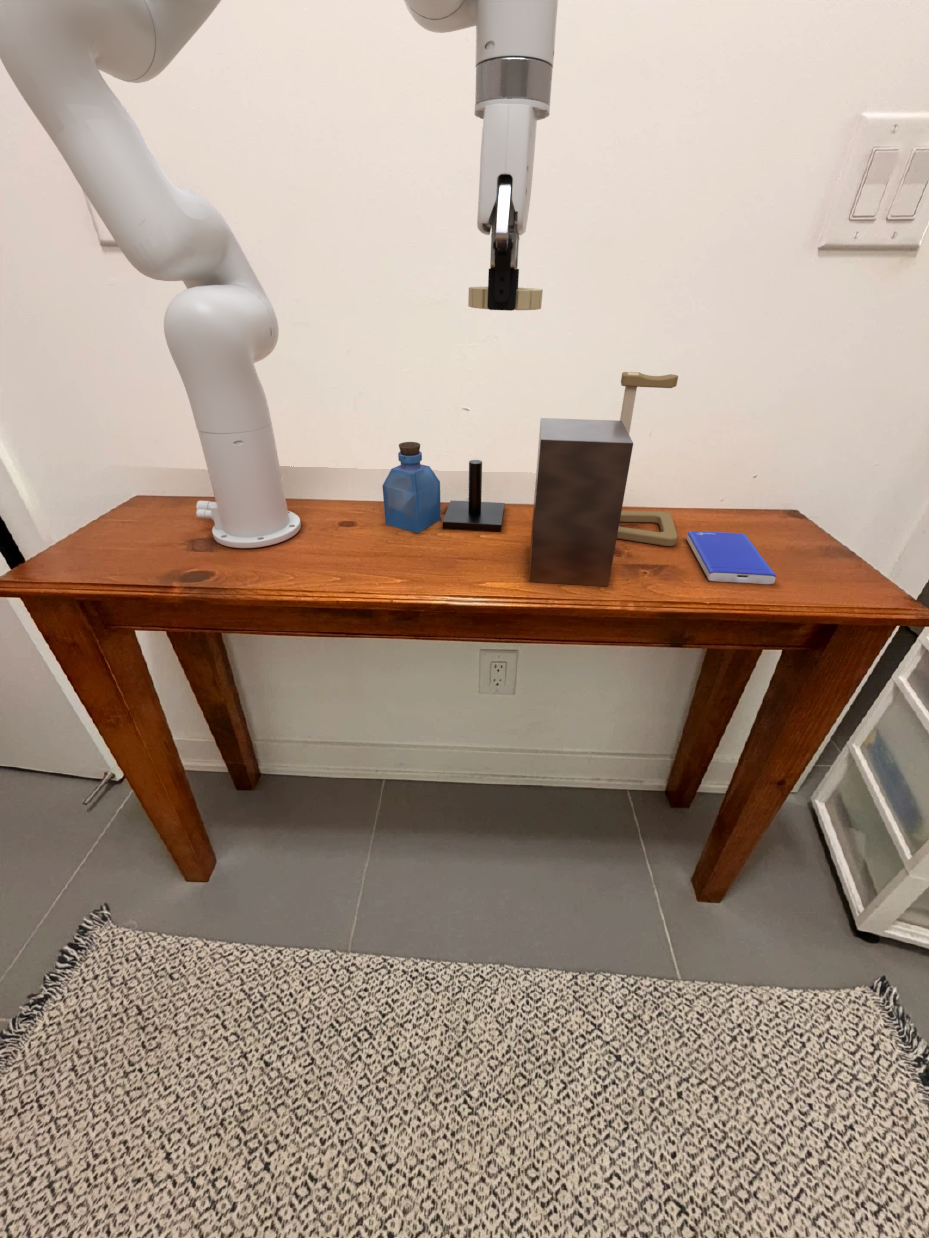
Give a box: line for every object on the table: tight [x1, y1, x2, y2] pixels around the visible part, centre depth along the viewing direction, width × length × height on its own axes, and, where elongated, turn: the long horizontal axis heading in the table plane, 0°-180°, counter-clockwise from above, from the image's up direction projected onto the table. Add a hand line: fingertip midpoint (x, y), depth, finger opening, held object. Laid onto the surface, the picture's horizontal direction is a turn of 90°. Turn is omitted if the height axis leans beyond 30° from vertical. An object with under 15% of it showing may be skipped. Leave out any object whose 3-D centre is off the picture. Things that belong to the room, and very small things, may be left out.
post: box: [442, 459, 506, 533], centre depth 84 cm, size 9×9×9 cm
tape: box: [467, 286, 543, 311], centre depth 66 cm, size 9×9×2 cm
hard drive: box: [685, 530, 777, 585], centre depth 74 cm, size 2×8×12 cm
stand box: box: [528, 417, 634, 588], centre depth 68 cm, size 10×10×18 cm
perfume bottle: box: [381, 441, 442, 534], centre depth 82 cm, size 6×6×12 cm
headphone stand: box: [617, 371, 679, 547], centre depth 77 cm, size 10×11×22 cm
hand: (502, 307), depth 64 cm, fingers closed on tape, 2 cm apart
